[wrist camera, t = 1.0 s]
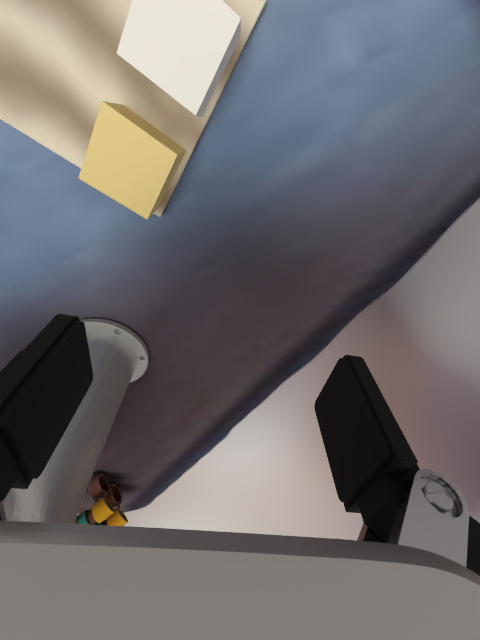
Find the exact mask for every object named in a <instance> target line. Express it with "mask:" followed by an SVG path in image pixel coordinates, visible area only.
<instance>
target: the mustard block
mask: <svg viewBox="0 0 480 640" xmlns="http://www.w3.org/2000/svg"><path fill="white" fill-rule="evenodd" d="M185 152H186V149H184V148H183V147H181V146H180V145H179V144H177V143H176V142H175V141H173V140H172V139H170V138H169V137H168V136H166V135H165V134H164V133H162V132H161V131H159V130H158V129H157V128H155V127H154V126H153V125H151V124H150V123H149V122H147V121H146V120H144V119H143V118H142V117H140V116H139V115H138V114H136V113H135V112H133V111H132V110H131V109H129V108H128V107H127V106H125V105H122V104H116V103H111V102H105V101H102V102H101V106H100V109H99V112H98V116H97V119H96V122H95V125H94V129H93V132H92V135H91V139H90V142H89V145H88V149H87V152H86V155H85V159H84V162H83V165H82V168H81V172H80V175H79V179H81V180H82V181H84V182H86V183H87V184H89V185H91V186H92V187H94V188H96V189H97V190H99V191H101V192H102V193H104V194H106V195H107V196H109V197H111V198H112V199H114V200H116V201H117V202H119V203H121V204H122V205H124V206H126V207H127V208H129V209H130V210H132V211H134V212H135V213H137V214H139V215H140V216H142V217H144V218H145V219H147V220H148V218H149V217H150V216H151V215H152V214H153V213H154V212H155V211H156V210H157V209H158V208H159V206H160V205H161V202H162V200H163V198H164V196H165V194H166V192H167V190H168V188H169V186H170V184H171V182H172V179H173V177H174V175H175V173H176V171H177V169H178V167H179V165H180V163H181V161H182V158H183V156H184V154H185Z"/></svg>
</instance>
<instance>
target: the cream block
mask: <svg viewBox="0 0 480 640" xmlns="http://www.w3.org/2000/svg"><path fill="white" fill-rule="evenodd" d="M240 28H241V18H240V17H239V16H238V15H237V14H236V13H235V12H234V11H233V10H232V9H231V8H230V7H229V6H228V5H227V4H226V3H225V2H224V1H223V0H132V3H131V6H130V10H129V13H128V16H127V20H126V23H125V26H124V30H123V33H122V36H121V39H120V43H119V46H118V49H117V54H118V55H119V56H120V57H122V58H123V59H124V60H126V61H127V62H128V63H129V64H131V65H132V66H133V67H134V68H136V69H137V70H138V71H140V72H141V73H142V74H143V75H145V76H146V77H147V78H148V79H150V80H151V81H152V82H154V83H155V84H156V85H157V86H159V87H160V88H161V89H162V90H164V91H165V92H166V93H168V94H169V95H170V96H171V97H173V98H174V99H175V100H176V101H178V102H179V103H180V104H182V105H183V106H184V107H185V108H187V109H188V110H189V111H190V112H192V113H193V114H194V115H196V116H199V117H203V114H204V112H205V110H206V108H207V106H208V104H209V102H210V100H211V98H212V96H213V94H214V91H215V89H216V87H217V85H218V83H219V81H220V79H221V77H222V75H223V73H224V70H225V68H226V66H227V64H228V62H229V60H230V58H231V56H232V54H233V52H234V50H235V47H236V45H237V43H238V41H239V39H240Z"/></svg>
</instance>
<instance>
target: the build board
mask: <svg viewBox="0 0 480 640" xmlns="http://www.w3.org/2000/svg"><path fill="white" fill-rule="evenodd" d="M223 1H224V2H225V3H226V4H227V5H228V6H229V7H230V8H231V9H232V10H233V11H234V12H235V13H236V14H237V15H238V16H239V17H240V18H241V28H240V39H239V41H238V43H237V45H236V47H235V50H234V52H233V54H232V56H231V58H230V60H229V62H228V64H227V66H226V68H225V70H224V73H223V75H222V77H221V79H220V81H219V83H218V85H217V87H216V89H215V91H214V94H213V96H212V98H211V100H210V102H209V104H208V106H207V108H206V110H205V112H204V114H203V117H199V116H196V115H194V114H193V113H192V112H190V111H189V110H188V109H187V108H185V107H184V106H183V105H182V104H180V103H179V102H178V101H176V100H175V99H174V98H173V97H171V96H170V95H169V94H168V93H166V92H165V91H164V90H162V89H161V88H160V87H159V86H157V85H156V84H155V83H154V82H152V81H151V80H150V79H148V78H147V77H146V76H145V75H143V74H142V73H141V72H140V71H138V70H137V69H136V68H134V67H133V66H132V65H131V64H129V63H128V62H127V61H126V60H124V59H123V58H122V57H120V56H119V55H118V54H117V49H118V46H119V43H120V39H121V36H122V33H123V30H124V26H125V23H126V20H127V16H128V13H129V10H130V6H131V3H132V0H0V119H1V120H3V121H5V122H6V123H8V124H10V125H11V126H13V127H14V128H16V129H18V130H19V131H21V132H23V133H24V134H26V135H27V136H29V137H31V138H32V139H34V140H36V141H37V142H39V143H40V144H42V145H44V146H45V147H47V148H49V149H50V150H52V151H53V152H55V153H57V154H58V155H60V156H62V157H63V158H65V159H66V160H68V161H70V162H71V163H73V164H75V165H76V166H78V167H79V168H82V165H83V162H84V159H85V155H86V152H87V149H88V145H89V142H90V139H91V135H92V132H93V129H94V125H95V122H96V119H97V116H98V112H99V109H100V106H101V102H102V101H105V102H111V103H116V104H122V105H125V106H127V107H128V108H129V109H131V110H132V111H133V112H135V113H136V114H138V115H139V116H140V117H142V118H143V119H144V120H146V121H147V122H149V123H150V124H151V125H153V126H154V127H155V128H157V129H158V130H159V131H161V132H162V133H164V134H165V135H166V136H168V137H169V138H170V139H172V140H173V141H175V142H176V143H177V144H179V145H180V146H181V147H183V148H184V149H186V152H185V154H184V156H183V158H182V161H181V163H180V165H179V167H178V169H177V171H176V173H175V175H174V177H173V179H172V182H171V184H170V186H169V188H168V190H167V192H166V194H165V196H164V198H163V200H162V202H161V205H160V206H159V208H158V209H157V210H156V211H155V212H154V214H156V215H157V216H159V217H161V215H162V214H163V212H164V210H165V208H166V206H167V204H168V202H169V200H170V198H171V196H172V194H173V192H174V190H175V188H176V186H177V184H178V182H179V180H180V178H181V176H182V173H183V171H184V169H185V167H186V165H187V163H188V161H189V159H190V157H191V155H192V153H193V151H194V149H195V147H196V145H197V143H198V141H199V139H200V137H201V135H202V133H203V131H204V129H205V127H206V125H207V123H208V120H209V118H210V116H211V114H212V112H213V110H214V108H215V106H216V104H217V102H218V100H219V98H220V96H221V94H222V92H223V90H224V88H225V86H226V84H227V82H228V80H229V78H230V76H231V74H232V72H233V70H234V67H235V65H236V63H237V61H238V59H239V57H240V55H241V53H242V51H243V49H244V47H245V45H246V43H247V41H248V39H249V37H250V35H251V33H252V31H253V29H254V27H255V25H256V23H257V21H258V19H259V16H260V14H261V12H262V10H263V8H264V6H265V4H266V2H267V0H223Z"/></svg>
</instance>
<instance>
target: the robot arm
mask: <svg viewBox="0 0 480 640" xmlns="http://www.w3.org/2000/svg"><path fill="white" fill-rule="evenodd" d="M148 363H149V353H148V349H147V347H146V345H145V343H144V342H143V341H142V339H141V338H140V337H139V336H138V335H137V334H136V333H135V332H133V331H132V330H130V329H129V328H127V327H125V326H123V325H121V324H119V323H117V322H114V321H111V320H105V319H96V318H91V319H83V320H79V318H78V317H77V316H70V315H63V314H58V315H56V316H55V317H54V318H53V319H52V320H51V321H50V322H49V324H48V325H47V326H46V327H45V328H44V329H43V330H42V331H41V332H40V333H39V334H38V335H37V336H36V338H35V339H34V340H33V341H32V342H31V343H30V344H29V345H28V346H27V347H26V348H25V349H24V350H22V351H20V352H19V353H18V354H17V355H16V356H15V357H14V358H13V359H12V360H11V361H10V362H9V363H8V364H7V365H6V367H5V368H4V369H3V370H2V371H1V372H0V640H480V523H478V522H477V521H476V520H474V519H473V518H472V517H471V516H469V510H468V505H467V503H466V501H465V498H464V497H463V496H462V494H461V492H460V491H459V489H458V488H457V487H456V486H455V485H454V484H453V483H452V482H451V481H450V480H449V479H447V478H446V477H445V476H444V475H442V474H440V473H438V472H436V471H434V470H430V469H421V470H420V469H419V467H418V465H417V463H418V461H417V459H416V457H415V455H414V454H413V452H412V450H411V448H410V446H409V445H408V442H407V440H406V439H405V437H404V435H403V433H402V431H401V429H400V427H399V425H398V423H397V422H396V420H395V418H394V416H393V414H392V412H391V410H390V408H389V406H388V405H387V403H386V401H385V399H384V397H383V395H382V393H381V392H380V389H379V388H378V386H377V384H376V382H375V380H374V378H373V376H372V374H371V373H370V371H369V369H368V367H367V365H366V363H365V361H364V359H363V358H361V357H358V356H350V355H345V356H344V357H343V358H340V359H339V360H338V362H337V364H336V366H335V367H334V369H333V371H332V373H331V374H330V376H329V378H328V380H327V382H326V384H325V385H324V387H323V389H322V391H321V392H320V394H319V396H318V398H317V400H316V402H315V412H316V416H317V419H318V423H319V427H320V431H321V434H322V438H323V442H324V446H325V449H326V453H327V457H328V461H329V464H330V468H331V472H332V475H333V479H334V483H335V487H336V490H337V494H338V497H339V499H340V501H341V502H343V503H344V506H345V510H346V512H354V513H361V515H362V518H363V521H364V523H363V526H362V529H361V531H360V534H359V537H358V540H357V541H354V540H343V539H328V538H313V537H297V536H281V535H264V534H248V533H232V532H214V531H198V530H179V529H163V528H145V527H125V526H108V525H90V524H75V521H76V518H77V515H78V512H79V509H80V506H81V503H82V500H83V498H84V495H85V492H86V490H87V487H88V485H89V482H90V479H91V477H92V474H93V472H94V469H95V467H96V465H97V462H98V459H99V457H100V454H101V452H102V449H103V447H104V444H105V442H106V439H107V437H108V434H109V432H110V430H111V427H112V425H113V422H114V420H115V417H116V415H117V412H118V410H119V407H120V405H121V402H122V400H123V397H124V395H125V393H126V390H127V388H128V385H129V383H131V382H133V381H135V380H137V379H138V378H140V377H141V376H142V375H143V374H144V373H145V371H146V369H147V366H148Z"/></svg>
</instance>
